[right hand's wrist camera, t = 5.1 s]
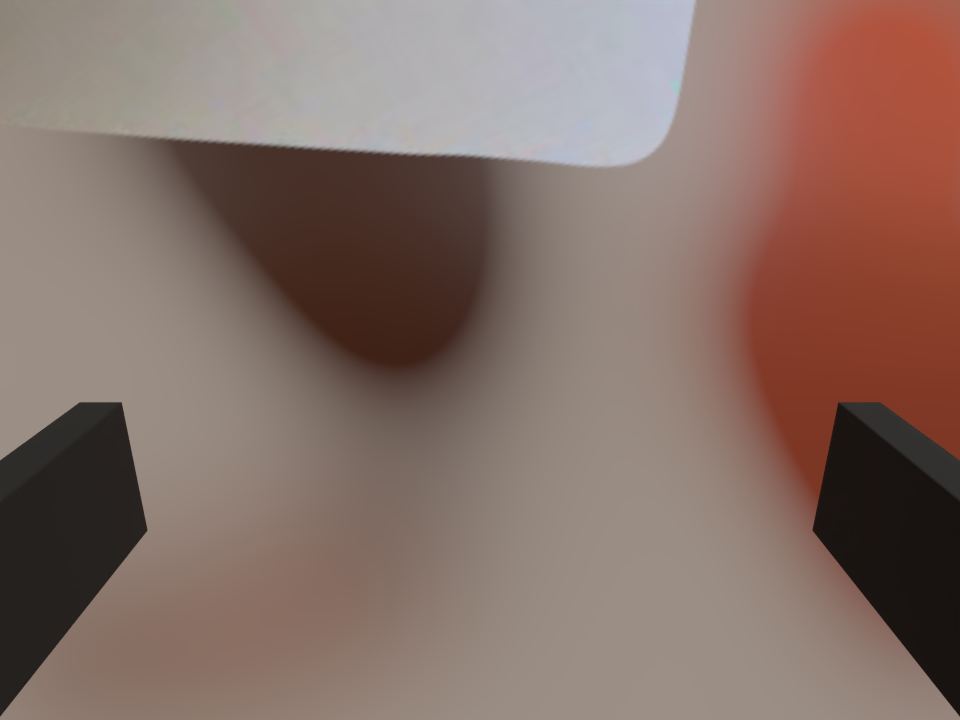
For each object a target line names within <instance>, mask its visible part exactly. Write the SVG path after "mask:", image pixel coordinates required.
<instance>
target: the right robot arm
mask: <svg viewBox="0 0 960 720" xmlns="http://www.w3.org/2000/svg"><path fill="white" fill-rule="evenodd" d="M146 532H147V526H146V521H145V516H144V511H143V506H142V501H141V496H140V491H139V486H138V481H137V476H136V472H135V466H134V461H133V457H132V452H131V447H130V442H129V437H128V432H127V427H126V422H125V417H124V412H123V407H122V403H121V402H108V403H107V402H102V403H101V402H94V403H93V402H80V403H78V404H77V405H76V406H74V407H73V408H72V409H70V410H69V411H67V412H66V413H65V414H63V415H62V416H61V417H59V418H58V419H56V420H55V421H54V422H52V423H51V424H50V425H48V426H47V427H45V428H44V429H43V430H41V431H40V432H39V433H37V434H36V435H35V436H33V437H32V438H30V439H29V440H28V441H26V442H25V443H24V444H22V445H21V446H19V447H18V448H17V449H15V450H14V451H13V452H11V453H10V454H9V455H7V456H6V457H4V458H3V459H2V460H0V716H1V715H2V713H3V712H4V711H5V710H6V708H7V707H8V706H9V705H10V703H11V702H12V701H13V700H14V698H15V697H16V696H17V695H18V693H19V692H20V691H21V689H22V688H23V687H24V686H25V684H26V683H27V682H28V681H29V679H30V678H31V677H32V676H33V674H34V673H35V672H36V671H37V669H38V668H39V667H40V665H41V664H42V663H43V662H44V660H45V659H46V658H47V657H48V655H49V654H50V653H51V652H52V650H53V649H54V648H55V646H56V645H57V644H58V643H59V641H60V640H61V639H62V638H63V636H64V635H65V634H66V633H67V631H68V630H69V629H70V628H71V626H72V625H73V624H74V623H75V621H76V620H77V619H78V617H79V616H80V615H81V614H82V612H83V611H84V610H85V609H86V607H87V606H88V605H89V604H90V602H91V601H92V600H93V599H94V597H95V596H96V595H97V593H98V592H99V591H100V590H101V588H102V587H103V586H104V585H105V583H106V582H107V581H108V580H109V578H110V577H111V576H112V575H113V573H114V572H115V571H116V569H117V568H118V567H119V566H120V564H121V563H122V562H123V561H124V559H125V558H126V557H127V556H128V554H129V553H130V552H131V550H132V549H133V548H134V547H135V545H136V544H137V543H138V542H139V540H140V539H141V538H142V537H143V535H144V534H145V533H146ZM813 532H814V533H815V534H816V535H817V537H818V538H819V539H820V540H821V542H822V543H823V544H824V545H825V547H826V548H827V549H828V551H829V552H830V553H831V554H832V556H833V557H834V558H835V559H836V561H837V562H838V563H839V564H840V566H841V567H842V568H843V569H844V571H845V572H846V573H847V575H848V576H849V577H850V578H851V580H852V581H853V582H854V583H855V585H856V586H857V587H858V588H859V590H860V591H861V592H862V593H863V595H864V596H865V597H866V599H867V600H868V601H869V602H870V604H871V605H872V606H873V607H874V609H875V610H876V611H877V612H878V614H879V615H880V616H881V617H882V619H883V620H884V621H885V623H886V624H887V625H888V626H889V628H890V629H891V630H892V631H893V633H894V634H895V635H896V636H897V638H898V639H899V640H900V641H901V643H902V644H903V645H904V646H905V648H906V649H907V650H908V651H909V653H910V654H911V655H912V657H913V658H914V659H915V660H916V662H917V663H918V664H919V665H920V667H921V668H922V669H923V670H924V672H925V673H926V674H927V676H928V677H929V678H930V679H931V681H932V682H933V683H934V684H935V686H936V687H937V688H938V689H939V691H940V692H941V693H942V695H943V696H944V697H945V698H946V700H947V701H948V702H949V703H950V705H951V706H952V707H953V708H954V710H955V711H956V712H957V713H958V715H959V716H960V460H958V459H957V458H956V457H954V456H953V455H952V454H950V453H949V452H947V451H946V450H945V449H943V448H942V447H941V446H939V445H938V444H936V443H935V442H934V441H932V440H931V439H930V438H928V437H927V436H925V435H924V434H923V433H921V432H920V431H919V430H917V429H916V428H914V427H913V426H912V425H910V424H909V423H908V422H906V421H905V420H903V419H902V418H901V417H899V416H898V415H897V414H895V413H894V412H893V411H891V410H890V409H888V408H887V407H886V406H884V405H883V404H882V403H880V402H873V403H872V402H848V403H847V402H839V403H838V407H837V412H836V417H835V422H834V427H833V432H832V437H831V442H830V447H829V451H828V456H827V461H826V466H825V471H824V476H823V481H822V486H821V491H820V496H819V501H818V506H817V511H816V516H815V521H814V526H813Z"/></svg>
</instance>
